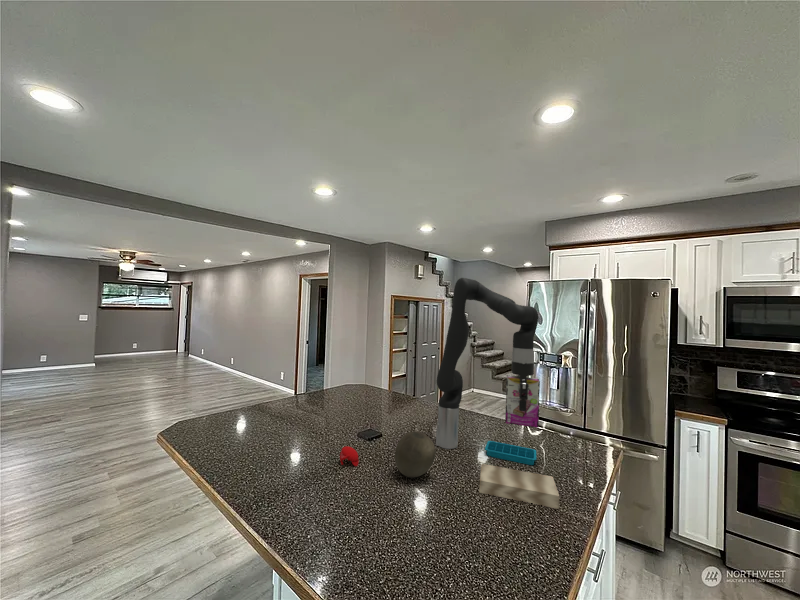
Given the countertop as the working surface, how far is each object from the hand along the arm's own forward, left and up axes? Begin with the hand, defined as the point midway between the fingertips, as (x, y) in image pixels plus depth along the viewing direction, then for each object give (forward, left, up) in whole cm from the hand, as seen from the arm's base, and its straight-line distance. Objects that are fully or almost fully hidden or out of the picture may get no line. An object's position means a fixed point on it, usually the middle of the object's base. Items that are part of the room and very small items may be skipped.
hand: (521, 408), depth 116 cm
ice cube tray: (-2, +24, -27) cm, 36 cm away
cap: (-61, -10, -26) cm, 67 cm away
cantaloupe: (-36, -9, -26) cm, 46 cm away
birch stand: (-1, -5, -26) cm, 27 cm away
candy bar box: (0, 0, -6) cm, 6 cm away
